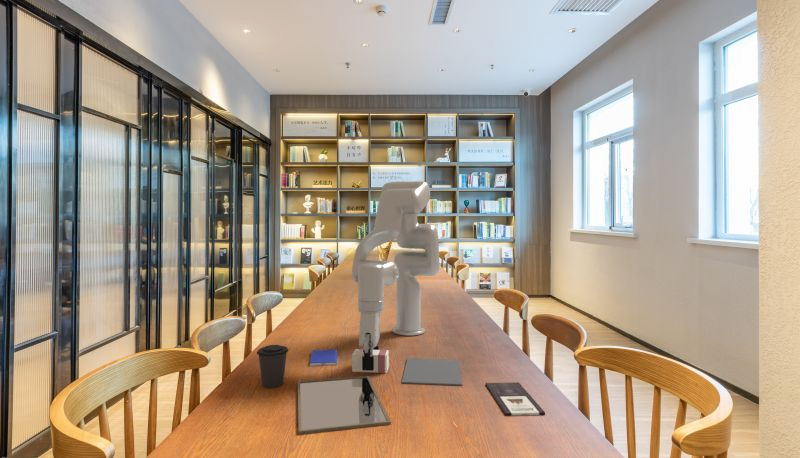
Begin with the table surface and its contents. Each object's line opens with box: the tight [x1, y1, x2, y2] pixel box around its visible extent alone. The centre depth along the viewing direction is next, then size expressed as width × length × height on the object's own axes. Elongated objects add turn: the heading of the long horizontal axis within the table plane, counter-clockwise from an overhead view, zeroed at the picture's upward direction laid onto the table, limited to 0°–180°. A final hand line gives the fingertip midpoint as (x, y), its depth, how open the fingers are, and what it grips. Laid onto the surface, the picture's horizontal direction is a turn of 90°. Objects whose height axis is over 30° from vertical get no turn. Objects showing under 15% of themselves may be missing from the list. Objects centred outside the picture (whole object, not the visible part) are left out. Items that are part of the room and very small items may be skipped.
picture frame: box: [297, 375, 392, 435], centre depth 104 cm, size 19×1×28 cm
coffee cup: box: [256, 344, 289, 389], centre depth 114 cm, size 8×8×10 cm
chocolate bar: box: [485, 381, 546, 417], centre depth 106 cm, size 9×1×18 cm
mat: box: [401, 357, 463, 387], centre depth 125 cm, size 20×16×1 cm
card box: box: [351, 348, 390, 374], centre depth 126 cm, size 10×5×5 cm, turn 85°
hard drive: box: [309, 348, 338, 367], centre depth 136 cm, size 2×8×12 cm
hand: (370, 364), depth 126 cm, fingers open, 9 cm apart
